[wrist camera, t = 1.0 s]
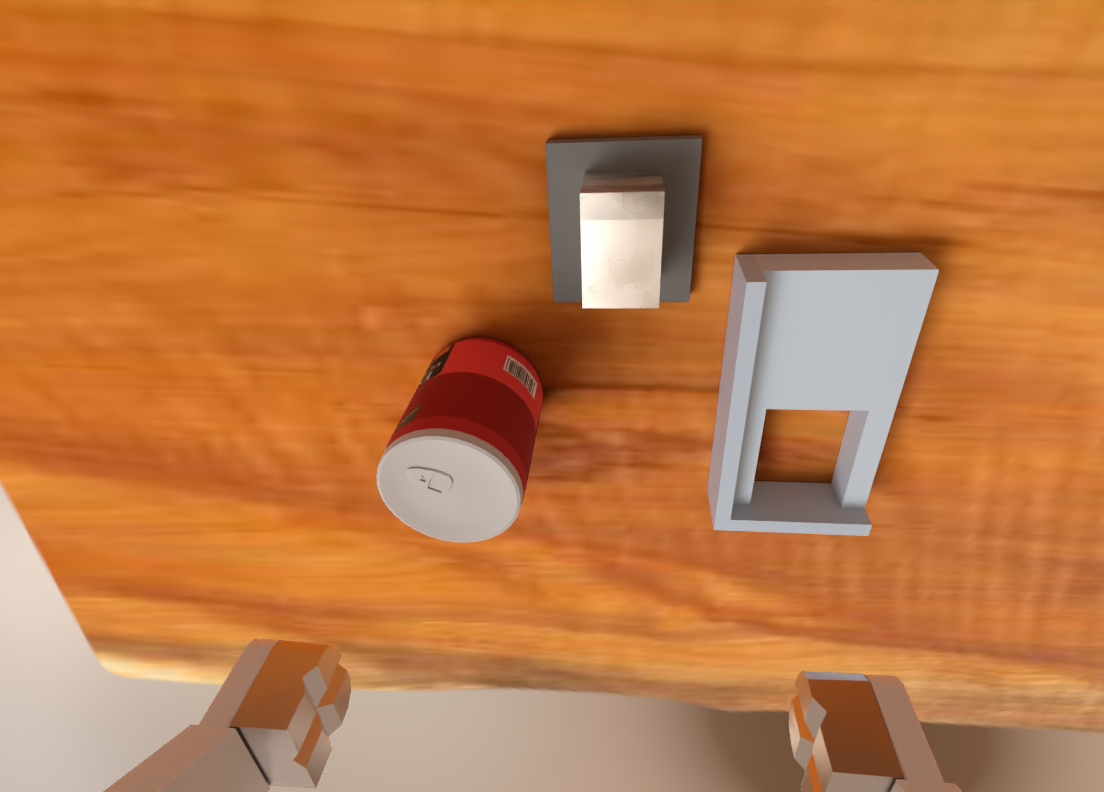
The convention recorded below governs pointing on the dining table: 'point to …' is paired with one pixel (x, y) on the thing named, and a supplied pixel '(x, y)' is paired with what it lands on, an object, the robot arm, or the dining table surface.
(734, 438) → the grey slotted tray
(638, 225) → the white boxy piece
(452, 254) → the dining table surface
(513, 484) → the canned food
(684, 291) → the pad
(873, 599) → the dining table surface
